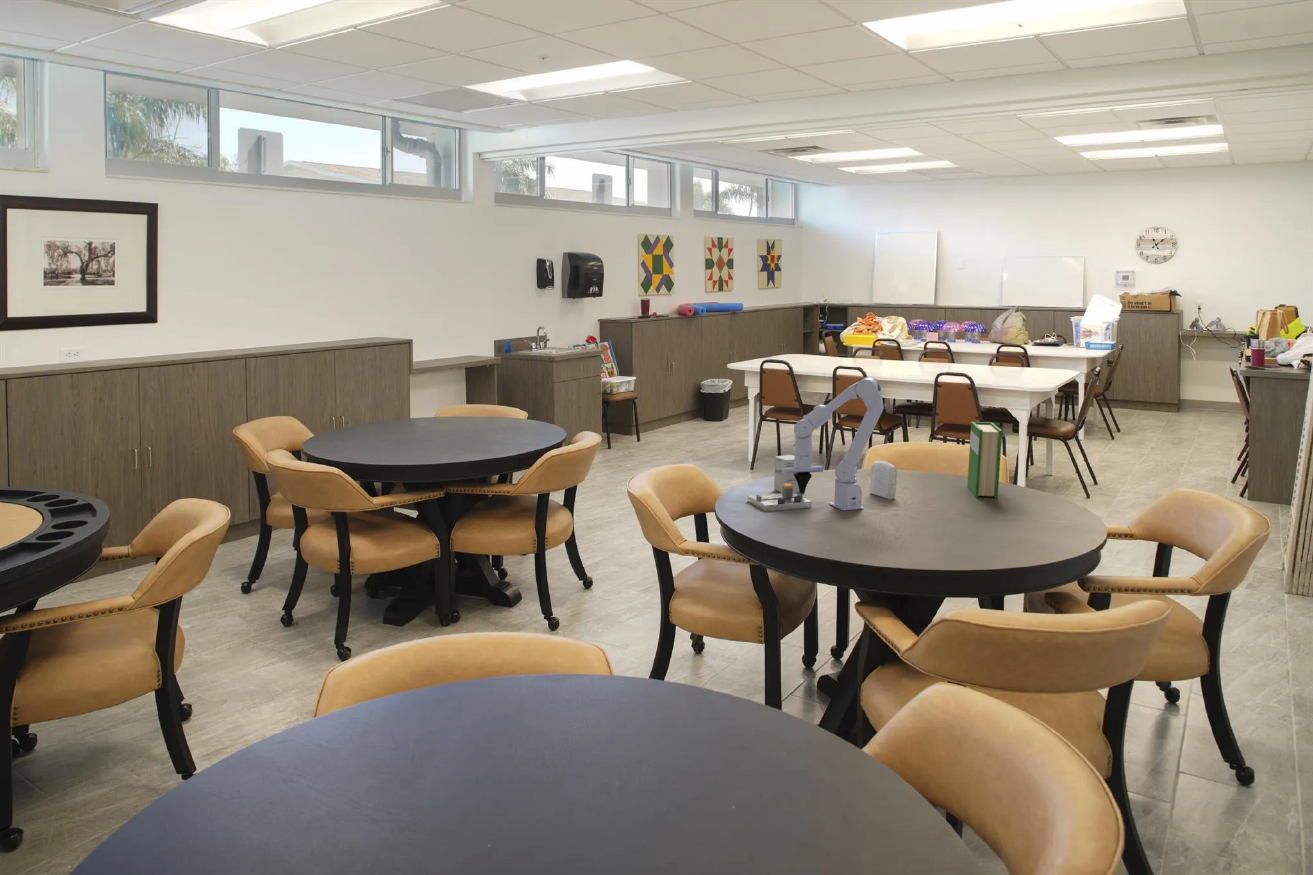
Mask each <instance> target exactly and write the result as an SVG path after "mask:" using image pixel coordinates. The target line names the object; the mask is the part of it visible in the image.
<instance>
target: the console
mask: <svg viewBox="0 0 1313 875" xmlns="http://www.w3.org/2000/svg"><path fill="white" fill-rule="evenodd" d="M802 494H803V493H801V492H797V493H793V498H784V497H782V496H783V493H781V492H779V493H778V492H777V493H768V494H767V493H766V494H764V493H763V494H754V495H752V494H751V495H747V502H748V503H750V504H751V505H753V506H755V507H757V508H759V509H760V510H762V511H764V512H773V511H774V512H775V511H785V510H799V509H808V508H809V509H810V508H812V507H813V506H812V505H813V504H812V501H811V500H809V499H808V498H806V497H803V495H804V494H803V495H802Z"/></svg>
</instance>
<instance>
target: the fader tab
mask: <svg viewBox="0 0 1313 875" xmlns="http://www.w3.org/2000/svg"><path fill="white" fill-rule="evenodd" d="M782 487H783V496H782V497H784V498H793V485H792V484H790V483H787V484H782Z"/></svg>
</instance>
